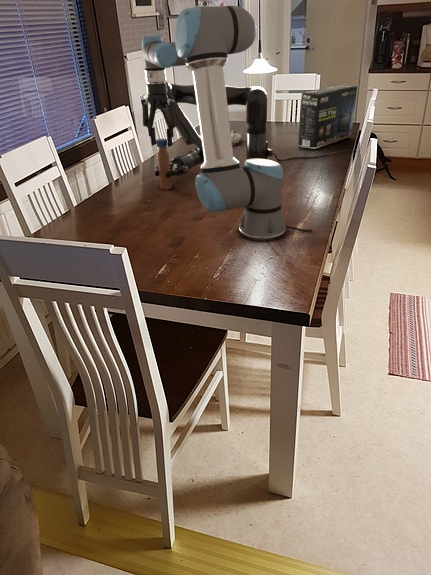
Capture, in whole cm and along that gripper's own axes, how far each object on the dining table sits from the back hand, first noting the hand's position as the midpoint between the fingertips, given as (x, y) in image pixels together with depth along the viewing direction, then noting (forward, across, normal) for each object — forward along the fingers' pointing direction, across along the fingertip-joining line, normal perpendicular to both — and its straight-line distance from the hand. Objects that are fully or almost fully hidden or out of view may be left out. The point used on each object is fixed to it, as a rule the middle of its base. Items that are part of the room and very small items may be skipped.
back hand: (161, 174), depth 186 cm
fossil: (-80, -9, +6) cm, 81 cm away
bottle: (-3, 0, +6) cm, 7 cm away
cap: (-3, 0, -13) cm, 13 cm away
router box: (-96, +41, +6) cm, 104 cm away
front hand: (-3, 0, -11) cm, 12 cm away
